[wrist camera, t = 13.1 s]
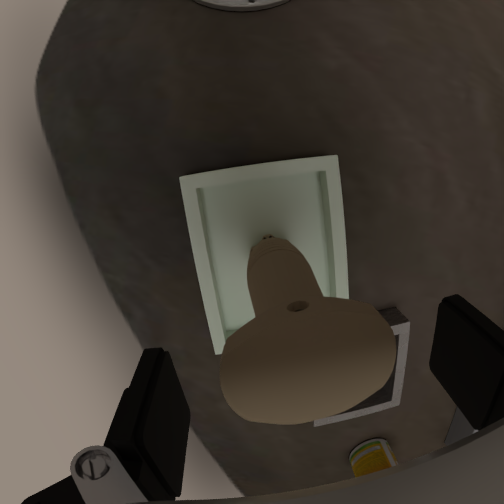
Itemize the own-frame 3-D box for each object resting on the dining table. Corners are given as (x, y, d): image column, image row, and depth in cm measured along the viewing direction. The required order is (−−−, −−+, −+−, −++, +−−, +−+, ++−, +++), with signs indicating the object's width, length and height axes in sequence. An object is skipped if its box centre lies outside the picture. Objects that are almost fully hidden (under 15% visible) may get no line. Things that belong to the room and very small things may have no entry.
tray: (185, 175, 24) (179, 177, 21) (327, 155, 24) (337, 155, 21) (217, 338, 28) (215, 354, 25) (340, 318, 28) (349, 332, 25)
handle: (222, 232, 24) (202, 338, 10) (305, 213, 24) (395, 292, 10) (237, 290, 26) (239, 435, 11) (316, 272, 26) (394, 396, 11)
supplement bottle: (340, 460, 34) (358, 519, 24) (365, 434, 32) (391, 495, 23) (370, 464, 34) (391, 517, 25) (395, 439, 33) (422, 493, 24)
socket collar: (302, 326, 28) (309, 343, 25) (395, 307, 28) (410, 321, 25) (308, 407, 30) (314, 426, 27) (388, 387, 30) (399, 404, 27)
